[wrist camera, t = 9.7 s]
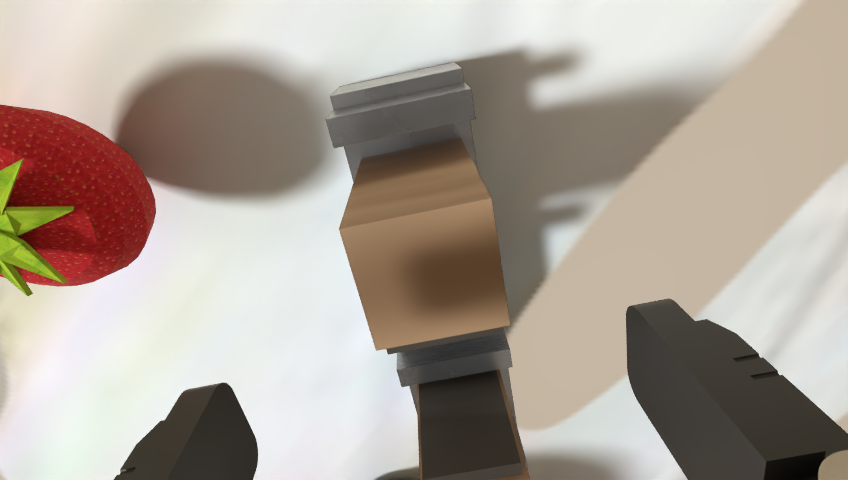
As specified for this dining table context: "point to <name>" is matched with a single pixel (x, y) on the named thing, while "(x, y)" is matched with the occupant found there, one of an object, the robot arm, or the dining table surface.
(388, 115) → the rail
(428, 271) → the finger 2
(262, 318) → the dining table surface
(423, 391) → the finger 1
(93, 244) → the strawberry
